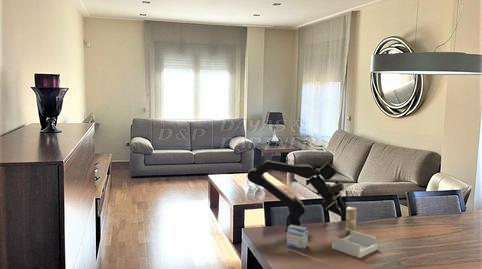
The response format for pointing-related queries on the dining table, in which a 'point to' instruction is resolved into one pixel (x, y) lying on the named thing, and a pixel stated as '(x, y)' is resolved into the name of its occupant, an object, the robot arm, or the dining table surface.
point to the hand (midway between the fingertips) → (343, 213)
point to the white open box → (355, 244)
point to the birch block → (350, 220)
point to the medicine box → (297, 236)
